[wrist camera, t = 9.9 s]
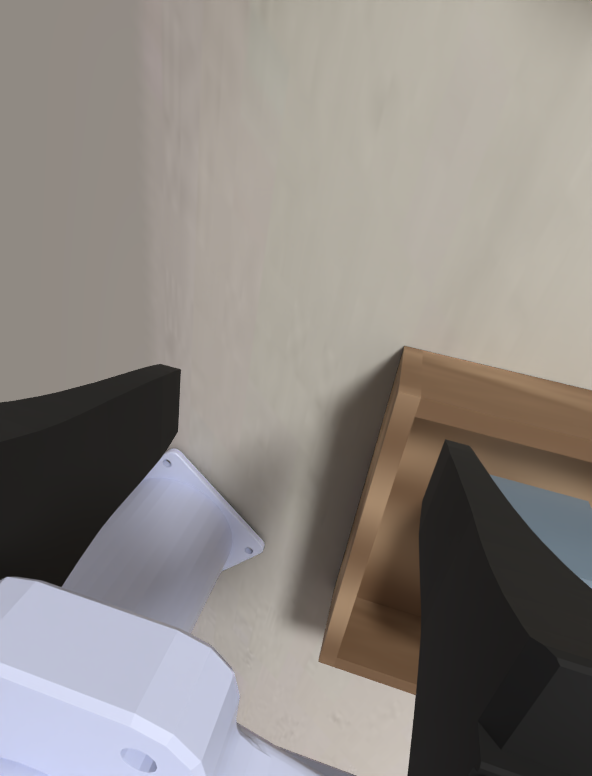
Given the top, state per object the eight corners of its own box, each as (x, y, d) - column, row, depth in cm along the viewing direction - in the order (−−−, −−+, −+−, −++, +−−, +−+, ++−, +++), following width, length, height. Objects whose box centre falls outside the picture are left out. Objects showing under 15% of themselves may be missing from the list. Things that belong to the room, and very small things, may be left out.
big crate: (580, 669, 26) (606, 760, 22) (333, 590, 28) (318, 661, 24) (758, 430, 19) (845, 504, 15) (404, 345, 21) (398, 391, 17)
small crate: (527, 604, 24) (548, 702, 20) (429, 574, 25) (429, 662, 21) (588, 501, 21) (629, 592, 17) (474, 470, 22) (485, 549, 18)
